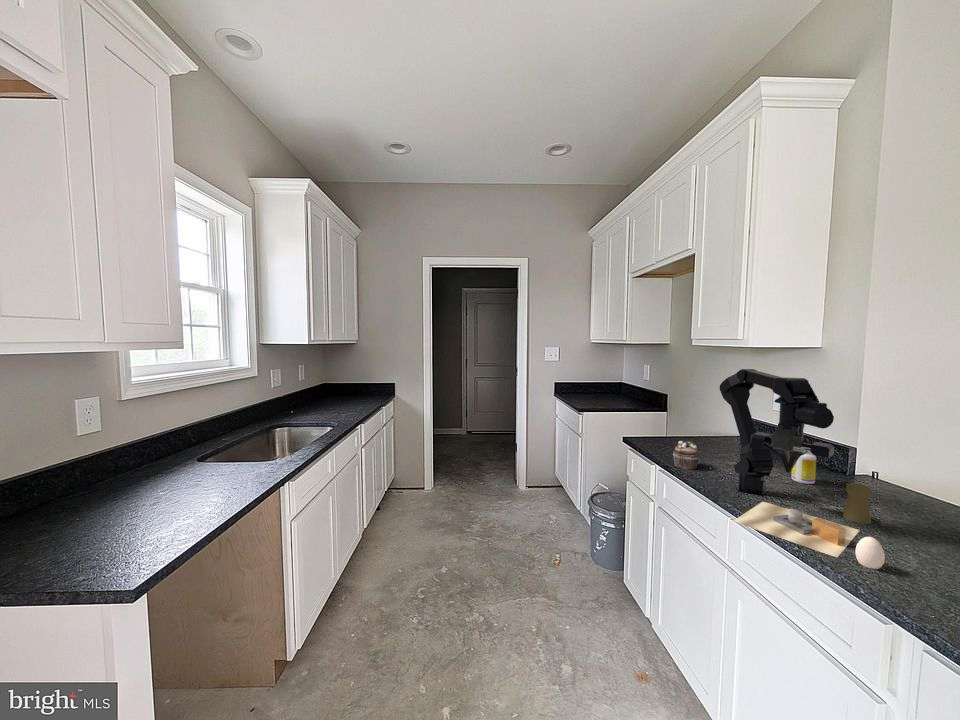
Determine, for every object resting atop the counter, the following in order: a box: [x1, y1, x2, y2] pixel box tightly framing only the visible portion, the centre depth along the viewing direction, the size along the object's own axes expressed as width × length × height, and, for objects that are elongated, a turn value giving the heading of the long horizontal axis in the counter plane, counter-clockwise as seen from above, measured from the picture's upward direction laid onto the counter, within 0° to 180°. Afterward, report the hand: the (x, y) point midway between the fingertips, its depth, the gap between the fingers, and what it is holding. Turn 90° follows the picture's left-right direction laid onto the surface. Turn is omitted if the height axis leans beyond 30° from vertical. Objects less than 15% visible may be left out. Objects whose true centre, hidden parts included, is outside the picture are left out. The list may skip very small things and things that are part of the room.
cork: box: [842, 482, 873, 525], centre depth 110 cm, size 6×6×11 cm
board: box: [732, 501, 860, 558], centre depth 107 cm, size 22×22×5 cm
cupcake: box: [672, 439, 701, 470], centre depth 158 cm, size 10×10×10 cm
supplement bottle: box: [791, 450, 817, 485], centre depth 142 cm, size 7×7×13 cm
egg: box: [855, 536, 886, 570], centre depth 88 cm, size 5×5×7 cm
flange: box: [773, 514, 846, 545], centre depth 104 cm, size 14×8×4 cm, turn 15°
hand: (788, 472), depth 117 cm, fingers closed
